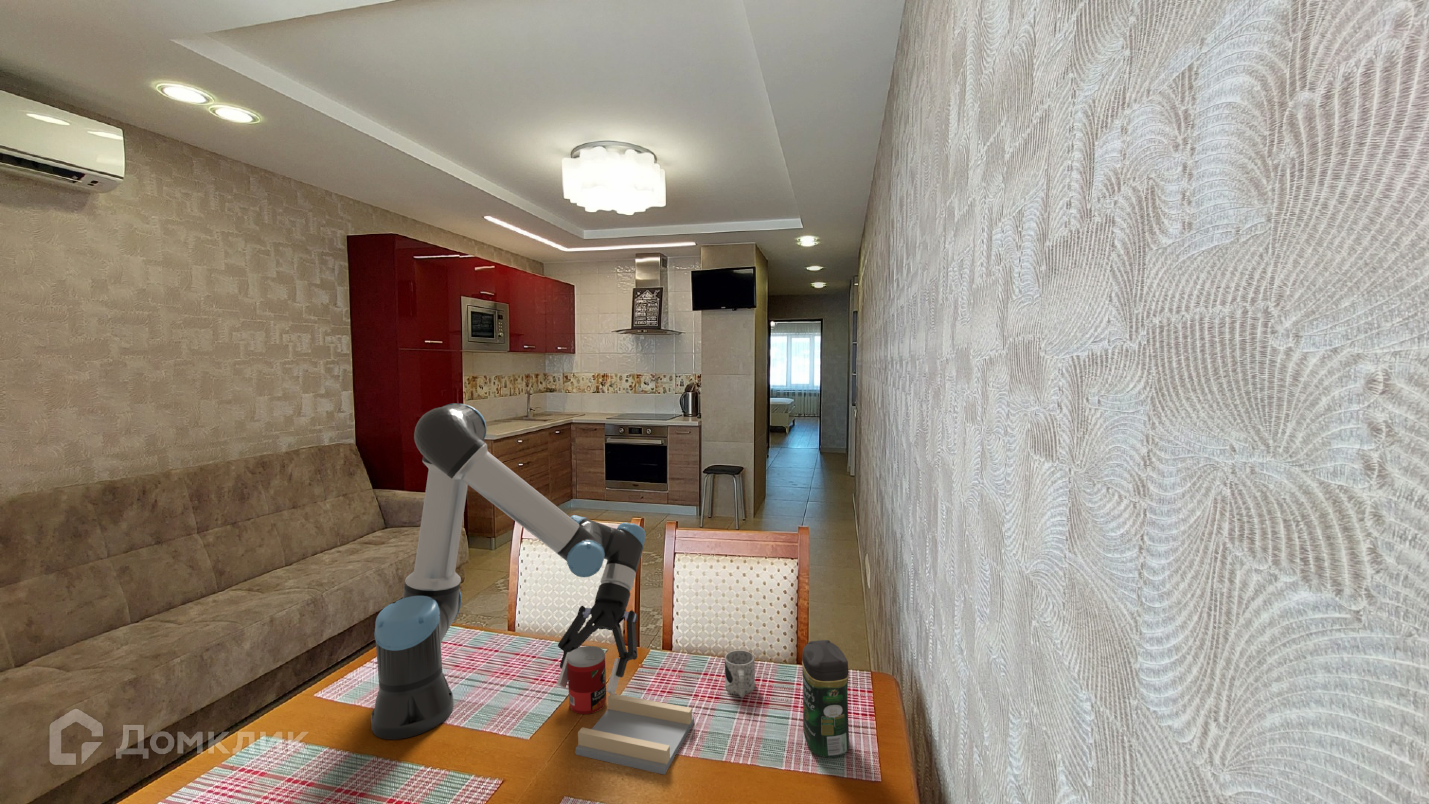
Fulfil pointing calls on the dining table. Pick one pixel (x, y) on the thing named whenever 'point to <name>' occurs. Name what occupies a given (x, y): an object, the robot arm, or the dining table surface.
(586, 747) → the track
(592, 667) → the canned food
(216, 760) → the dining table surface
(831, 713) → the coffee jar
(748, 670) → the mug
